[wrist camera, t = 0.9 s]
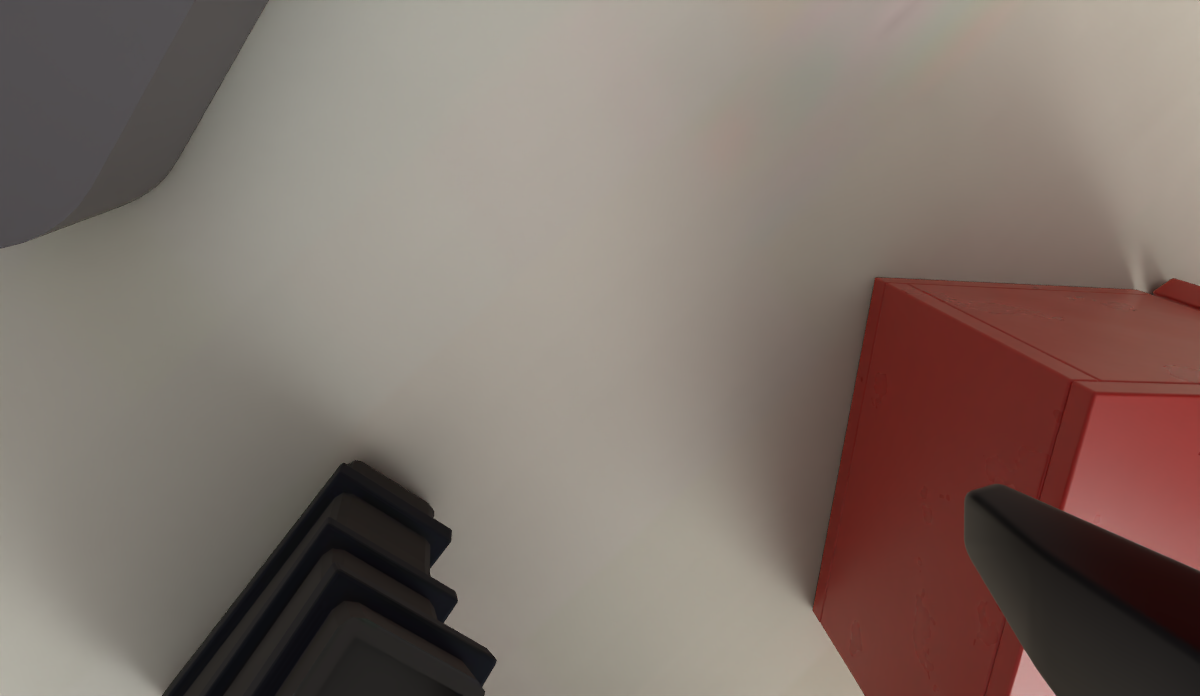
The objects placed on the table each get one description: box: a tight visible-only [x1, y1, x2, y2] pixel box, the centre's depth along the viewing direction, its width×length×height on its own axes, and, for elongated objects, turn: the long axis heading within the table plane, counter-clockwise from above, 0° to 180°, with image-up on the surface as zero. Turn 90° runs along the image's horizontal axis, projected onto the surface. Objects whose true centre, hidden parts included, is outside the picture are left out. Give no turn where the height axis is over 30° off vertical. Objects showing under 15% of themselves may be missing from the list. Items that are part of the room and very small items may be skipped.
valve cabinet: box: [813, 277, 1200, 696], centre depth 23 cm, size 12×9×10 cm
